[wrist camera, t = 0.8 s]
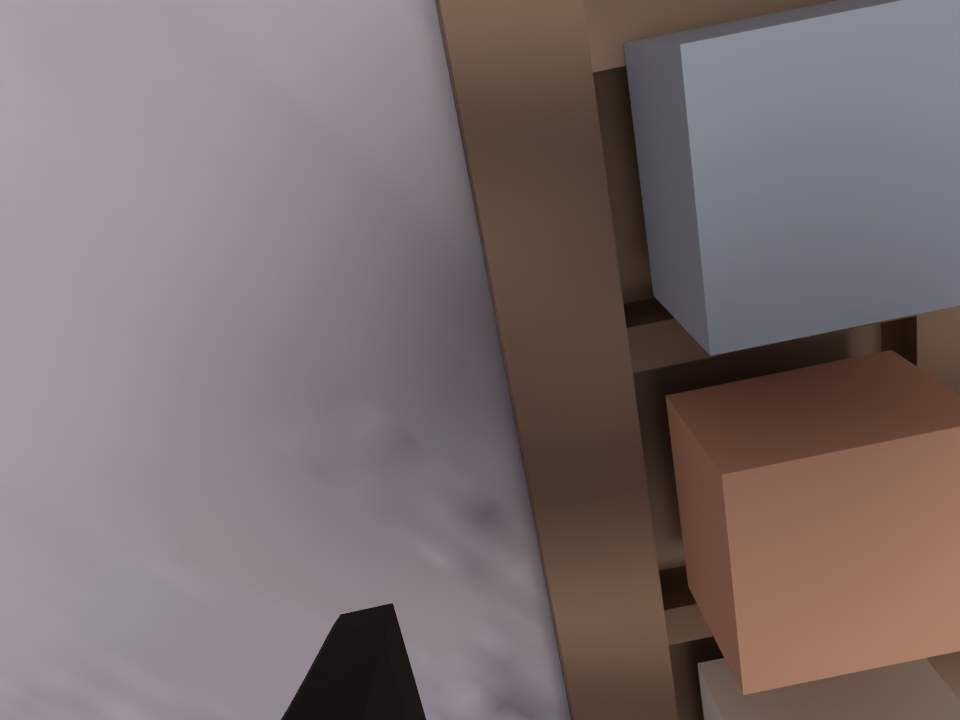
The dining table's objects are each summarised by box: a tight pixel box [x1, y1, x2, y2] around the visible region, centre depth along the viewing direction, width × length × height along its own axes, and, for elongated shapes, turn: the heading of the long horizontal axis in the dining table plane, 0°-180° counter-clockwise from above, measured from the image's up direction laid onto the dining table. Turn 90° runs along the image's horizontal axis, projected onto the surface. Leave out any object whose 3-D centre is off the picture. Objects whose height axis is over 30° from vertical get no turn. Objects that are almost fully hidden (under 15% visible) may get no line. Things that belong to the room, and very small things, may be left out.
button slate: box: [624, 0, 960, 356], centre depth 15 cm, size 5×5×4 cm
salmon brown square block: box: [666, 350, 960, 695], centre depth 17 cm, size 5×5×4 cm
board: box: [435, 0, 960, 720], centre depth 20 cm, size 26×11×2 cm, turn 10°
